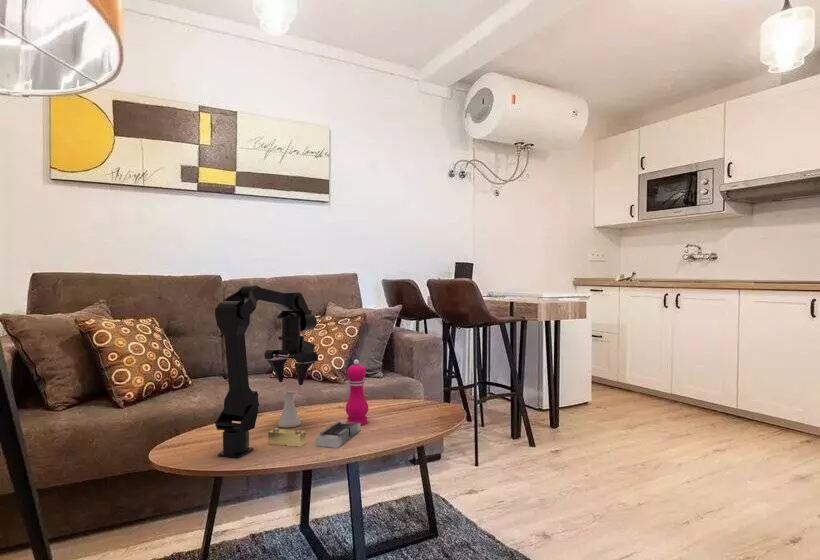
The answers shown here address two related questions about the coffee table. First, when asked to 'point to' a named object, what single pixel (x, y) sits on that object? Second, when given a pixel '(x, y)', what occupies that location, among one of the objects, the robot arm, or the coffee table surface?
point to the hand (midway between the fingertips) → (290, 383)
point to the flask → (289, 412)
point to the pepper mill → (356, 394)
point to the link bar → (287, 437)
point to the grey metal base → (337, 434)
